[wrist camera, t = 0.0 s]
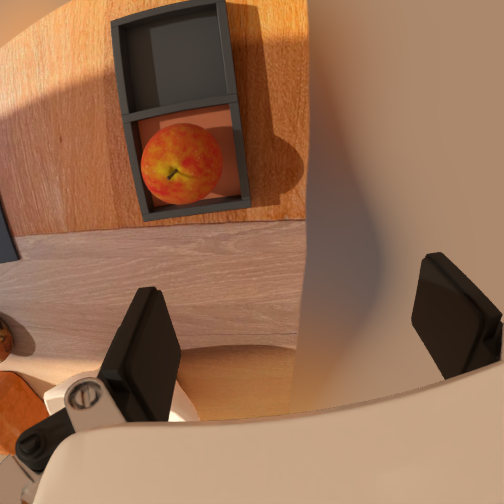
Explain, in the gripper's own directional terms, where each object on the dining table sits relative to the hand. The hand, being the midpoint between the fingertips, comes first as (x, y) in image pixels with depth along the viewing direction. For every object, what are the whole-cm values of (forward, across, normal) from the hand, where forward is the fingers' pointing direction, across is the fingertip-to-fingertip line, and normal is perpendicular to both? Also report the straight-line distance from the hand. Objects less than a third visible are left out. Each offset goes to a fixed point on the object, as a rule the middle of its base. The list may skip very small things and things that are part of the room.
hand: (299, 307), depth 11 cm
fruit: (+21, +7, -2) cm, 23 cm away
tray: (+22, +7, -7) cm, 24 cm away
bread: (+22, +61, +36) cm, 74 cm away
